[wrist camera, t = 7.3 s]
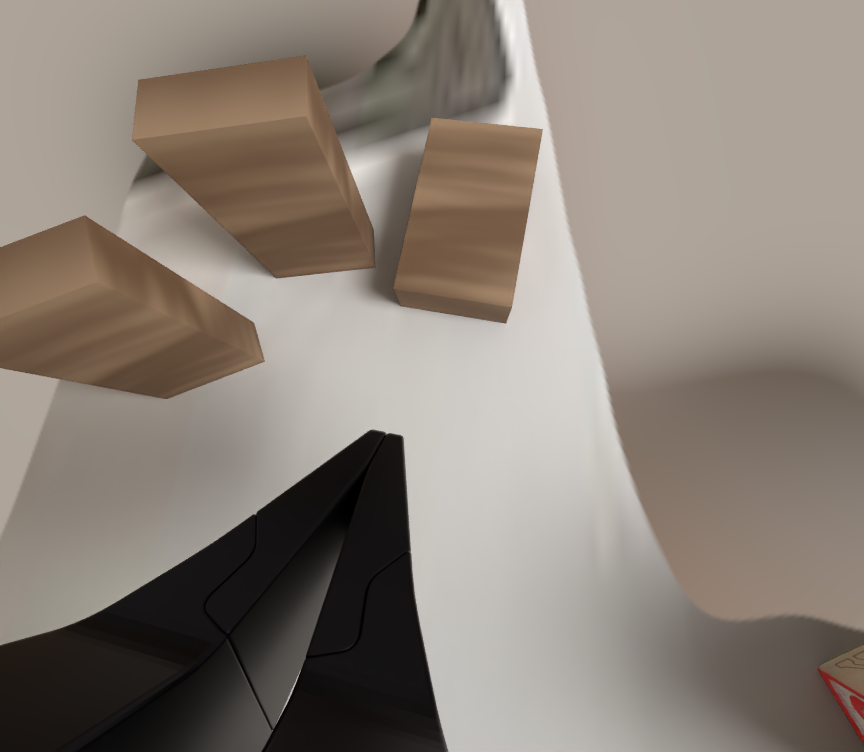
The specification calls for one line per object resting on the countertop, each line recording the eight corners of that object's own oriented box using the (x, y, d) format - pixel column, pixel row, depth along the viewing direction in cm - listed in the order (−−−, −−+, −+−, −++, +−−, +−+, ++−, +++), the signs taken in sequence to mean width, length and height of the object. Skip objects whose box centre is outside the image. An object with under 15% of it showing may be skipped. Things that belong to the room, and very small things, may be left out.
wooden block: (511, 307, 18) (542, 129, 19) (393, 288, 19) (431, 117, 20) (505, 324, 21) (533, 166, 22) (401, 307, 21) (435, 155, 23)
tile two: (264, 361, 21) (96, 281, 11) (166, 398, 21) (-88, 351, 11) (253, 319, 22) (83, 210, 12) (157, 356, 22) (-91, 276, 12)
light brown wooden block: (375, 267, 22) (306, 116, 12) (276, 278, 22) (131, 140, 12) (373, 226, 22) (305, 50, 13) (277, 237, 23) (138, 75, 13)
